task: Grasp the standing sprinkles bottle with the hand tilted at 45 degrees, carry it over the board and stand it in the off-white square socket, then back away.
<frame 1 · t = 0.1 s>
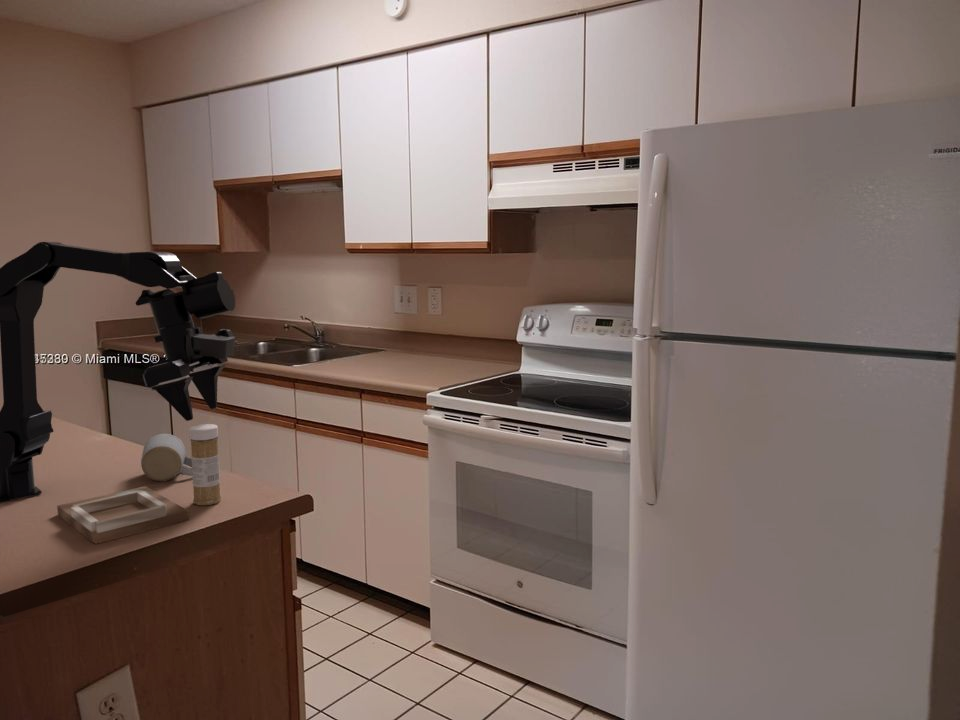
hand: (202, 414, 122), 15 cm above the counter, tool pointing down, fingers open, 9 cm apart
socket board: (122, 517, 116), on the counter
sprinkles bottle: (207, 503, 123), on the counter
ceramic mug: (171, 476, 138), on the counter
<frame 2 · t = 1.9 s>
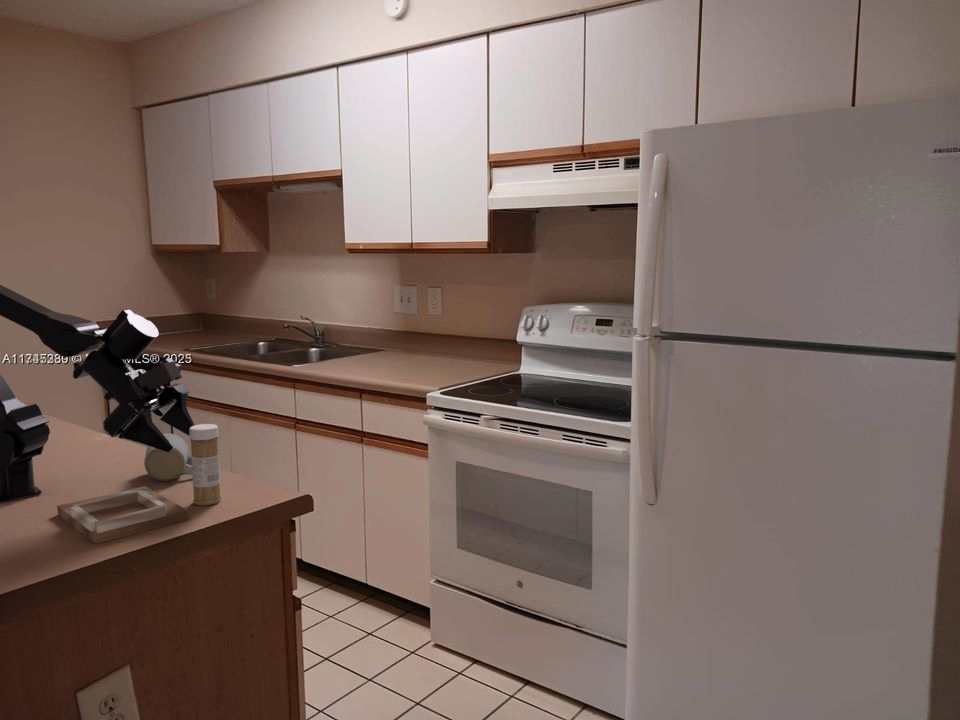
hand: (184, 442, 122), 10 cm above the counter, tool tilted 45°, fingers open, 9 cm apart
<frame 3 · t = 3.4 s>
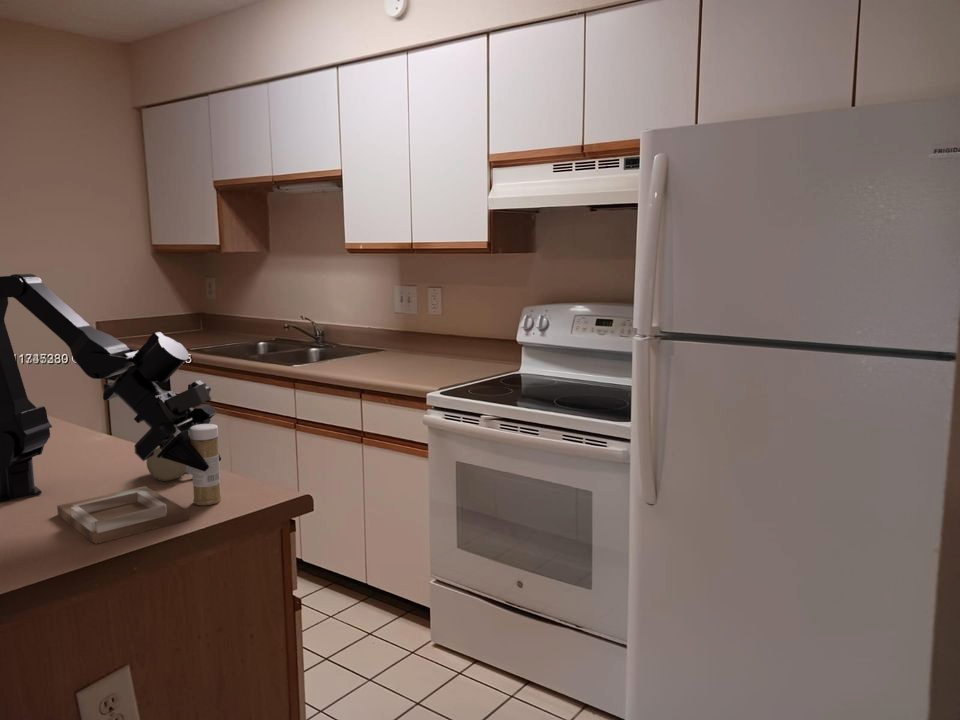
hand: (213, 465, 122), 7 cm above the counter, tool tilted 45°, fingers closed on sprinkles bottle, 4 cm apart
sprinkles bottle: (207, 503, 123), on the counter, touching gripper
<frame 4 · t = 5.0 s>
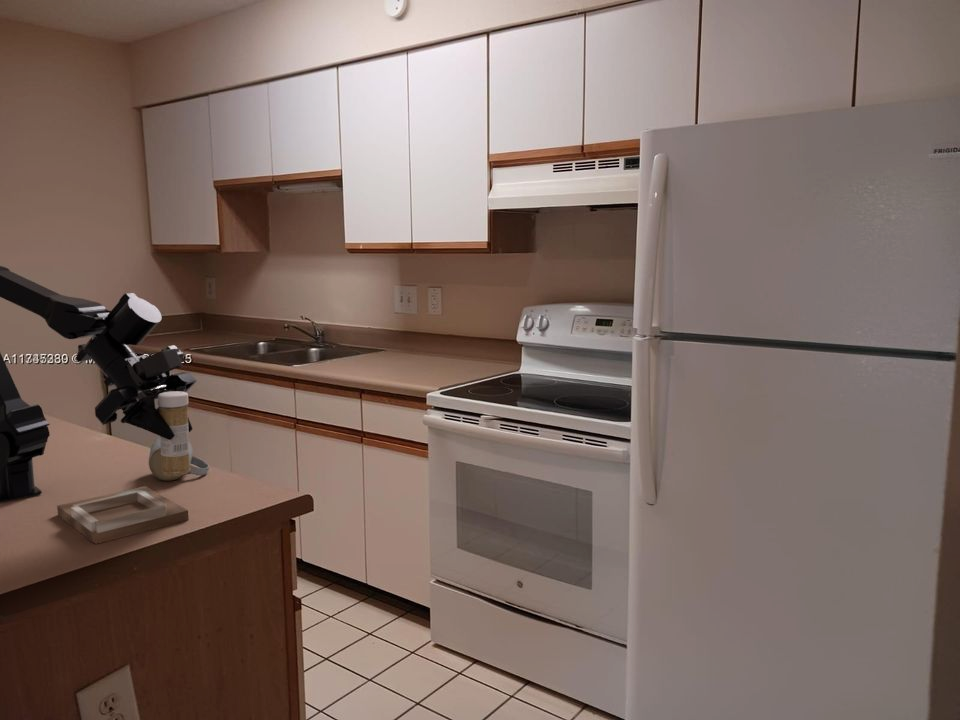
hand: (181, 434, 117), 13 cm above the counter, tool tilted 45°, fingers closed on sprinkles bottle, 4 cm apart
sprinkles bottle: (175, 473, 118), point 6 cm above the counter, touching gripper
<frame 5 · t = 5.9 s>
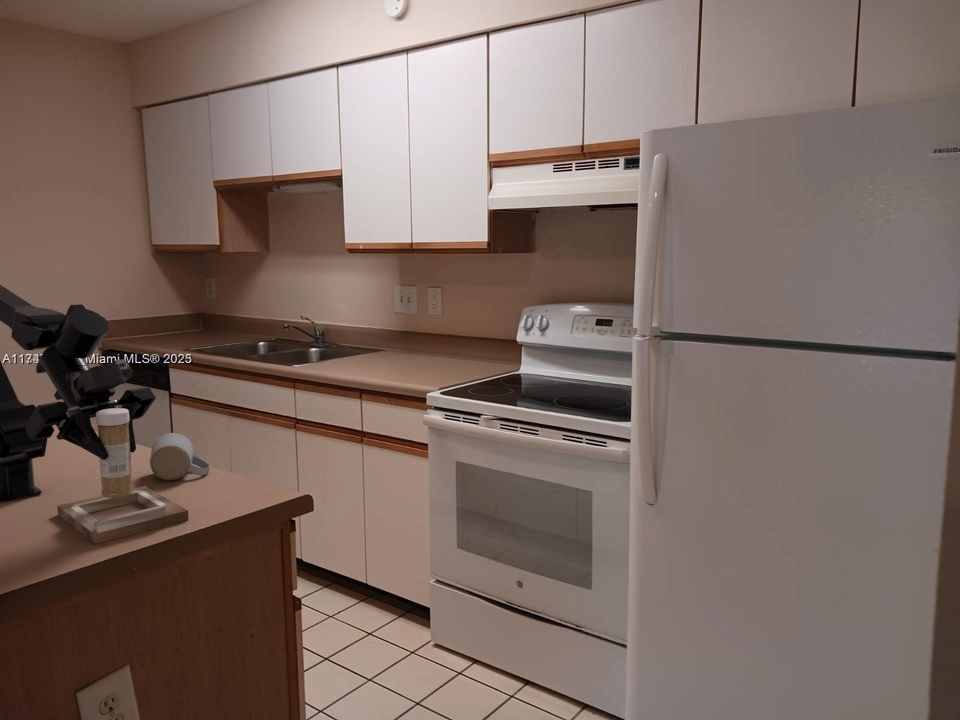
hand: (120, 454, 110), 12 cm above the counter, tool tilted 45°, fingers closed on sprinkles bottle, 4 cm apart
sprinkles bottle: (117, 495, 112), point 5 cm above the counter, touching gripper
when the fingers open (9 cm above the counter, at t = 6.5 s): sprinkles bottle drops 1 cm, resting on socket board.
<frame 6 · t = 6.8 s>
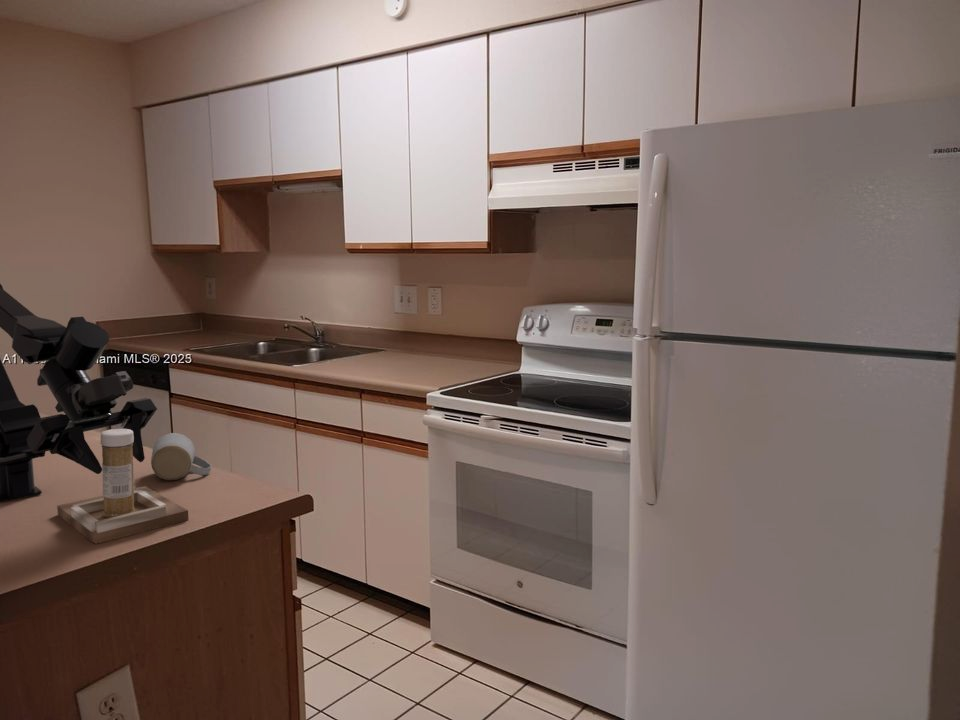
hand: (121, 466, 111), 10 cm above the counter, tool tilted 45°, fingers open, 7 cm apart
sprinkles bottle: (118, 515, 112), point 1 cm above the counter, touching socket board
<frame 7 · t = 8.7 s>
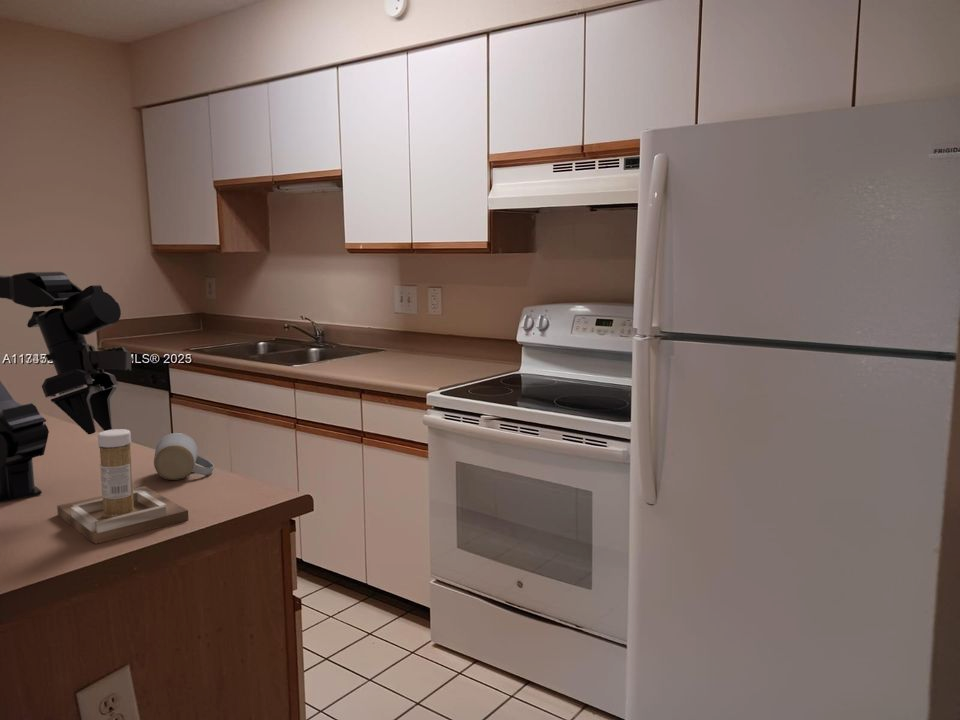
hand: (100, 432, 119), 13 cm above the counter, tool tilted 20°, fingers open, 9 cm apart
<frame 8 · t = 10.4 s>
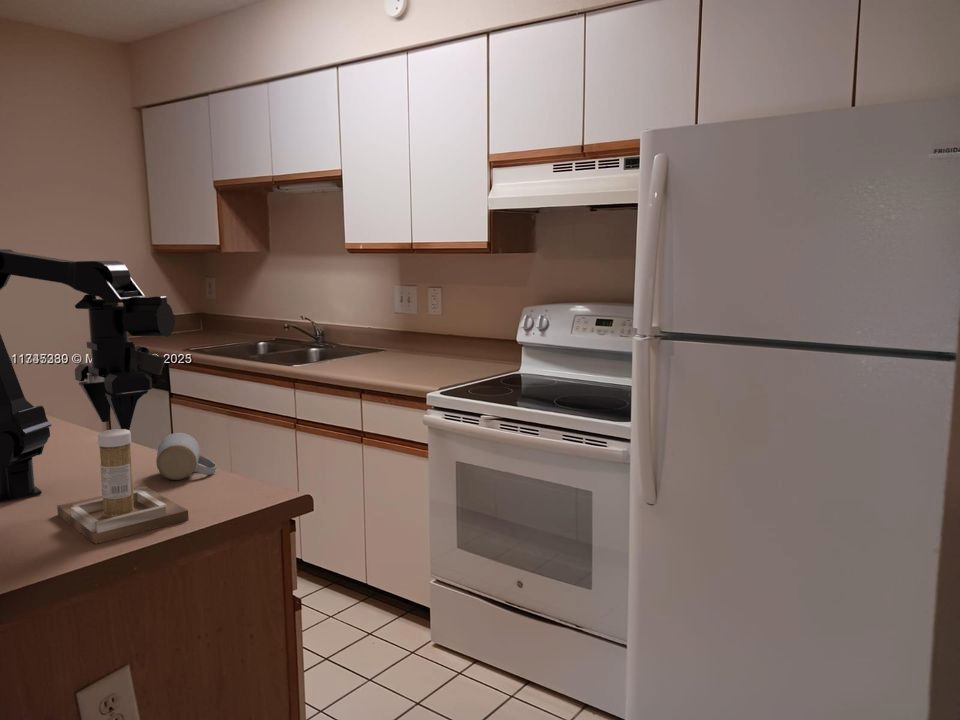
hand: (115, 426, 123), 13 cm above the counter, tool pointing down, fingers open, 9 cm apart
at the end: sprinkles bottle 0.1 cm from the target spot, point 1.4 cm above the counter; sprinkles bottle tilted 1°; the gripper is holding nothing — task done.
